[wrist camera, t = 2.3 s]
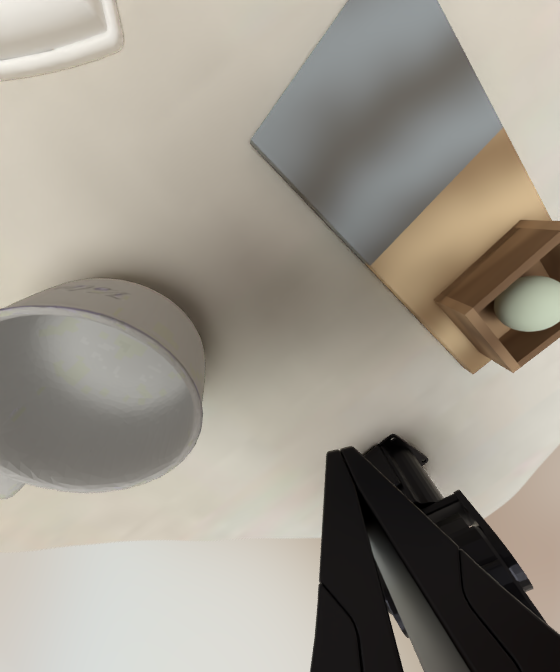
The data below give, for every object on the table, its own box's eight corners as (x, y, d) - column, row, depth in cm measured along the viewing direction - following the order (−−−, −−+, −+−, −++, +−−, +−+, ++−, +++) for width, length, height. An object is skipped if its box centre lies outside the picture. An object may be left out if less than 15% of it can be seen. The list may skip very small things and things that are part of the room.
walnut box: (559, 287, 20) (609, 299, 17) (479, 352, 21) (513, 373, 19) (520, 219, 17) (571, 221, 14) (433, 299, 19) (464, 314, 16)
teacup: (147, 232, 16) (66, 250, 9) (244, 361, 21) (243, 443, 13) (-22, 343, 18) (-206, 434, 10) (103, 440, 22) (35, 549, 15)
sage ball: (537, 292, 19) (597, 309, 16) (494, 328, 20) (542, 351, 17) (516, 259, 18) (576, 270, 14) (471, 299, 19) (518, 318, 15)
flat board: (570, 281, 21) (585, 284, 20) (464, 368, 23) (473, 374, 22) (387, -52, 12) (399, -73, 11) (250, 143, 15) (250, 139, 14)
